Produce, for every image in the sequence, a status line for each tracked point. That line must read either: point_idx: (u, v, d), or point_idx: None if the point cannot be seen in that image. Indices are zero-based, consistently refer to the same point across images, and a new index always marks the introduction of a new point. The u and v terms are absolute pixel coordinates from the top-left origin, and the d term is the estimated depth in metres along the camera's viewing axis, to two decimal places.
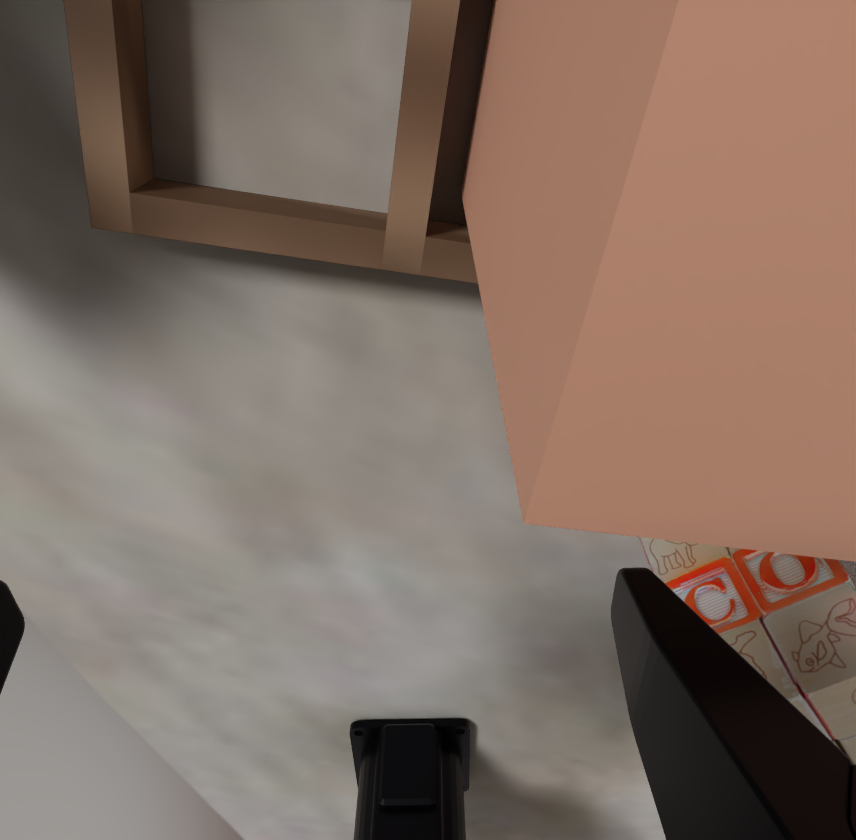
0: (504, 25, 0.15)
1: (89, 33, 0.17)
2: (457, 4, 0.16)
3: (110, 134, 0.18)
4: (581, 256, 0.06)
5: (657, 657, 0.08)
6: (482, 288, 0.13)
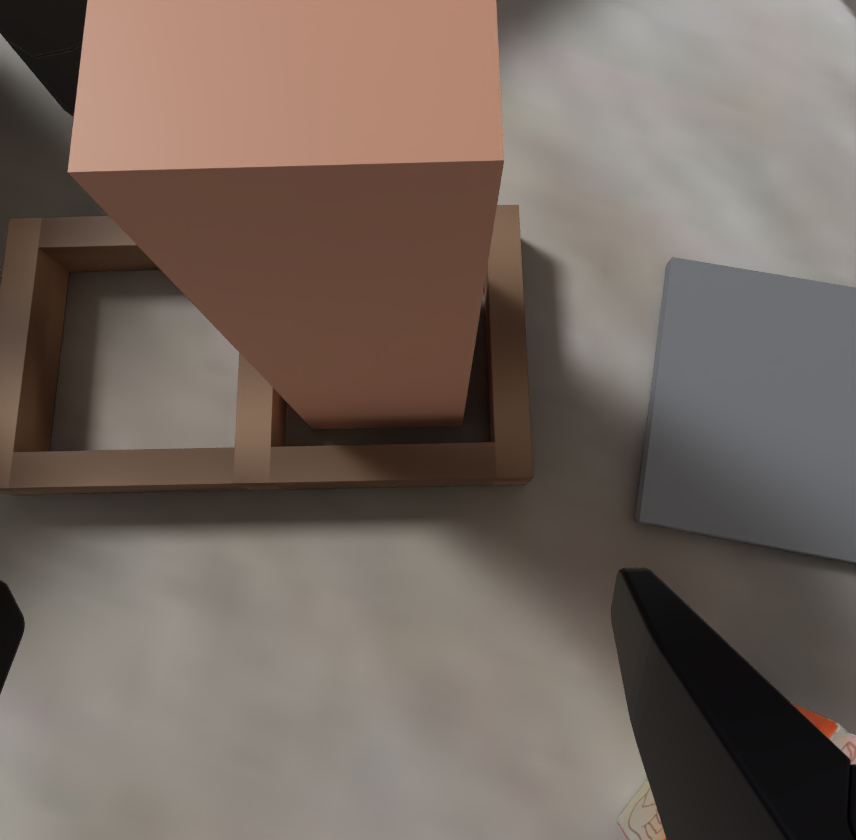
0: None
1: (8, 342, 0.23)
2: None
3: (7, 408, 0.22)
4: None
5: (657, 657, 0.08)
6: None
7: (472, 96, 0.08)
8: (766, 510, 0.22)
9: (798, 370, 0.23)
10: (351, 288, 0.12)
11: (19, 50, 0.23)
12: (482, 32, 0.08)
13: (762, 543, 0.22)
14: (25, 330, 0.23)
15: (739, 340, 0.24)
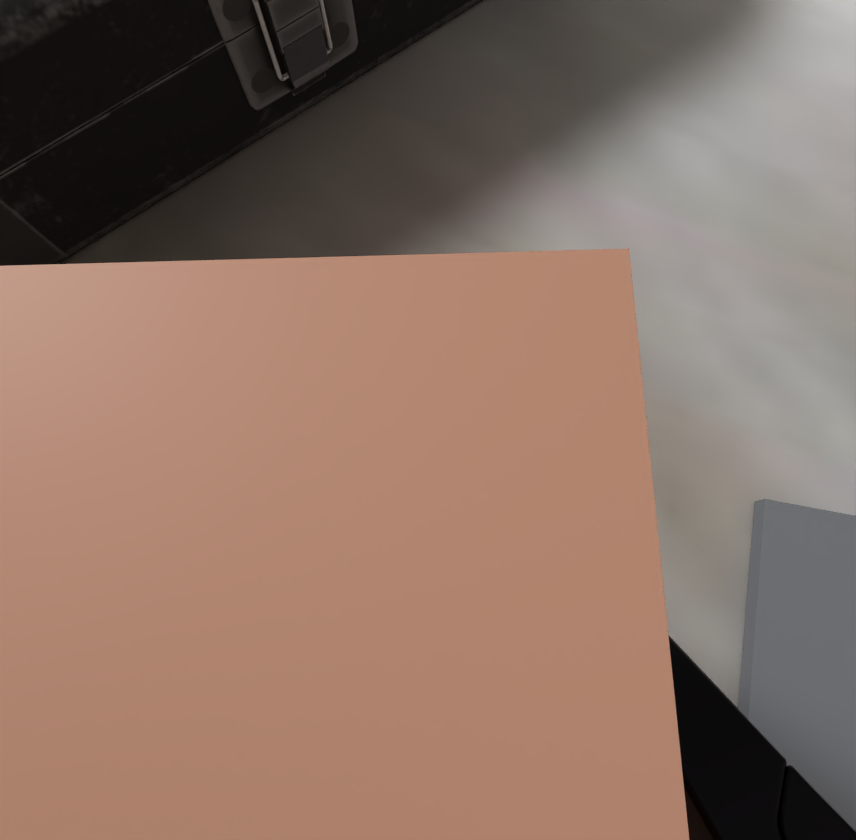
0: None
1: None
2: None
3: None
4: None
5: None
6: None
7: None
8: None
9: None
10: None
11: None
12: None
13: None
14: None
15: None
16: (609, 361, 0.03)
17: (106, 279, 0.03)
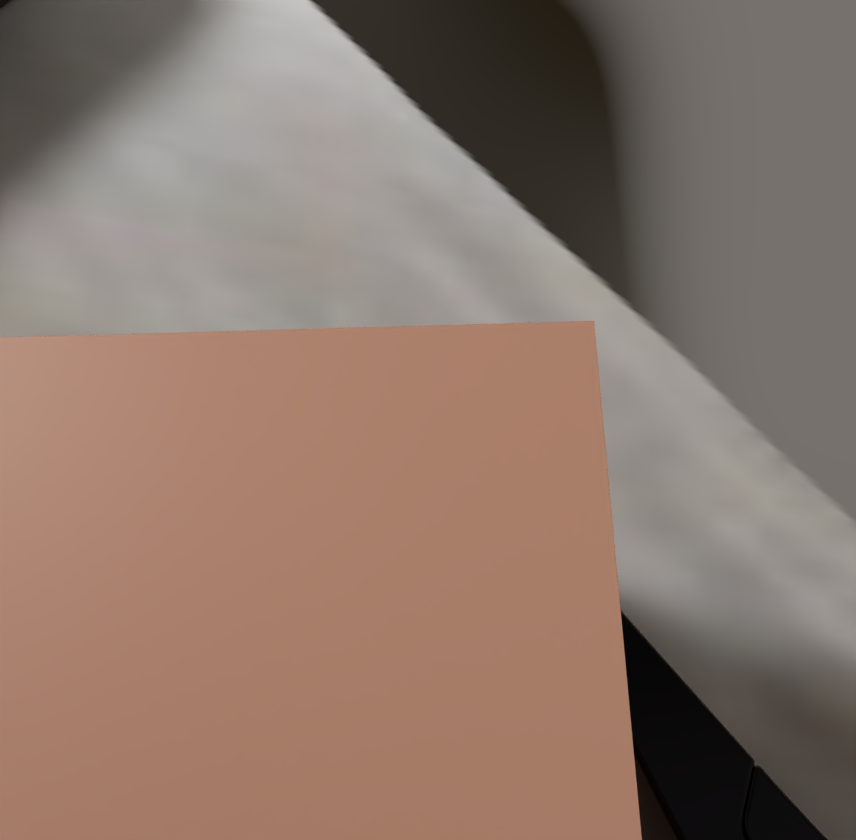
0: None
1: None
2: None
3: None
4: None
5: None
6: None
7: None
8: None
9: None
10: None
11: None
12: None
13: None
14: None
15: None
16: (578, 407, 0.03)
17: (200, 345, 0.04)
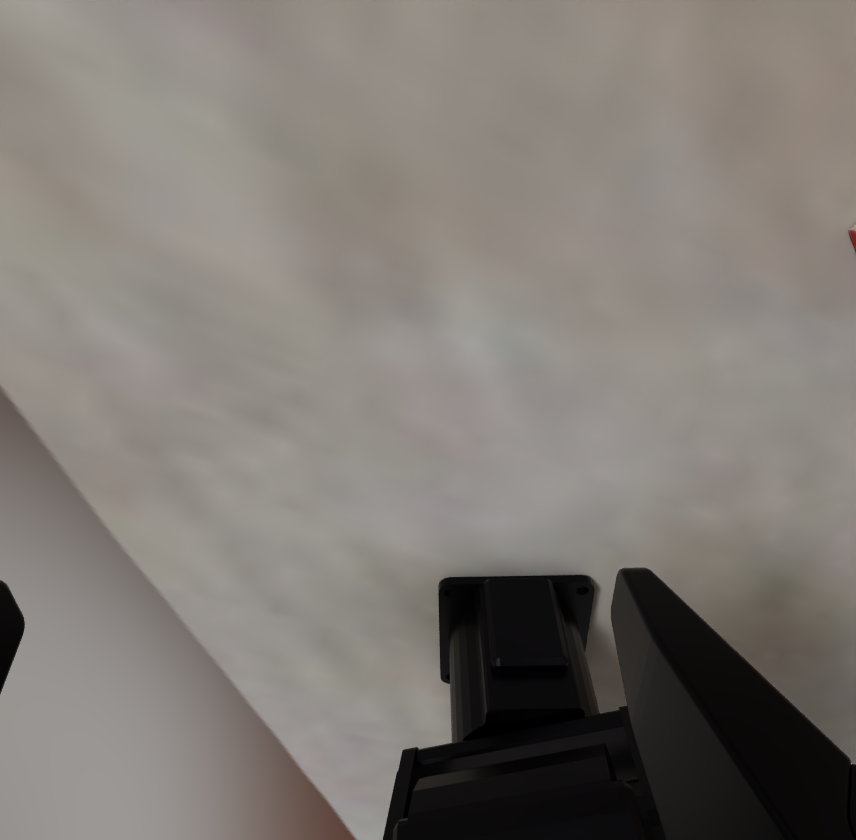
0: None
1: None
2: None
3: None
4: None
5: (657, 657, 0.08)
6: None
7: None
8: None
9: None
10: None
11: None
12: None
13: None
14: None
15: None
16: None
17: None
